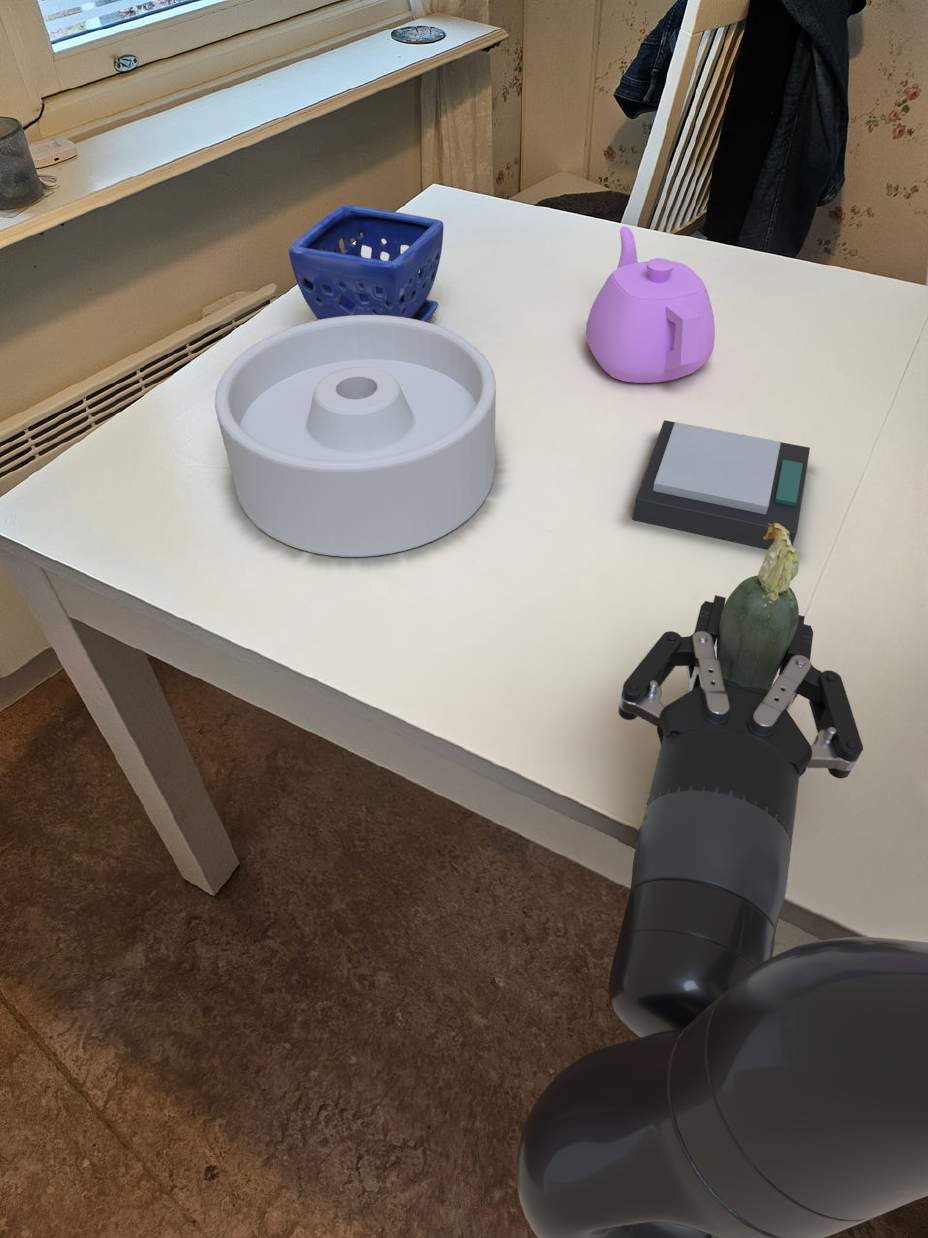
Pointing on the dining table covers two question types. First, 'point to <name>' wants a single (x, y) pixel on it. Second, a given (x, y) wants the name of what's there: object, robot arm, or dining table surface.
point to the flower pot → (368, 264)
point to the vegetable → (760, 618)
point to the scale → (722, 484)
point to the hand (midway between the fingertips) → (755, 615)
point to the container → (359, 433)
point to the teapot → (650, 319)
